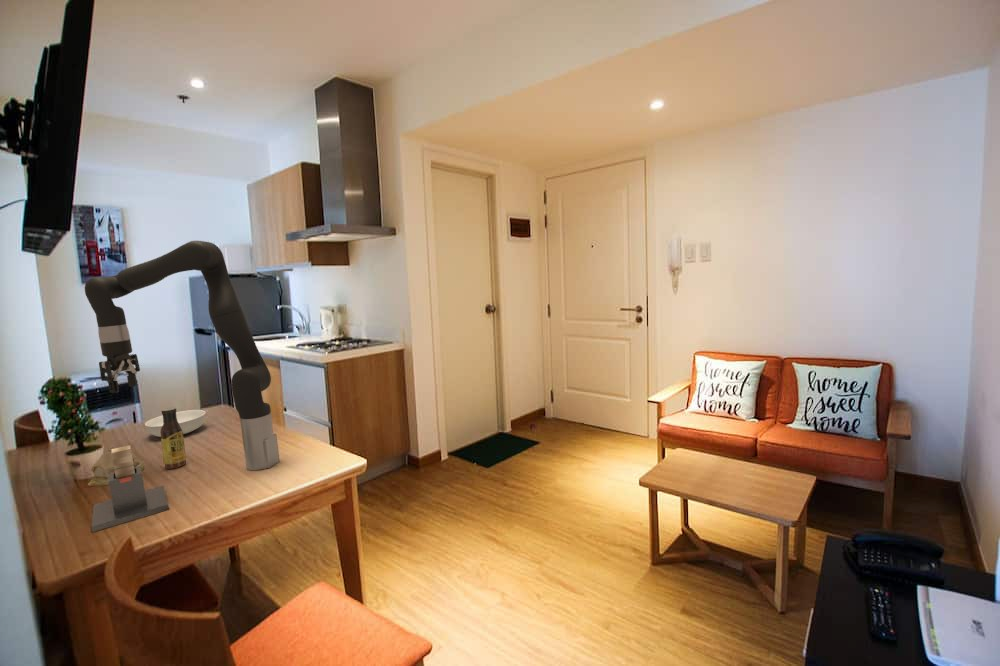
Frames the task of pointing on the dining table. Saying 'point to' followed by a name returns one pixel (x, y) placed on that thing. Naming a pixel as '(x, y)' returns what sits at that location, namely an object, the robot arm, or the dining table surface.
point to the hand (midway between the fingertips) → (124, 389)
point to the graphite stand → (128, 501)
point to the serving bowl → (185, 419)
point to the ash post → (123, 461)
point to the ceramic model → (107, 468)
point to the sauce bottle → (172, 440)
